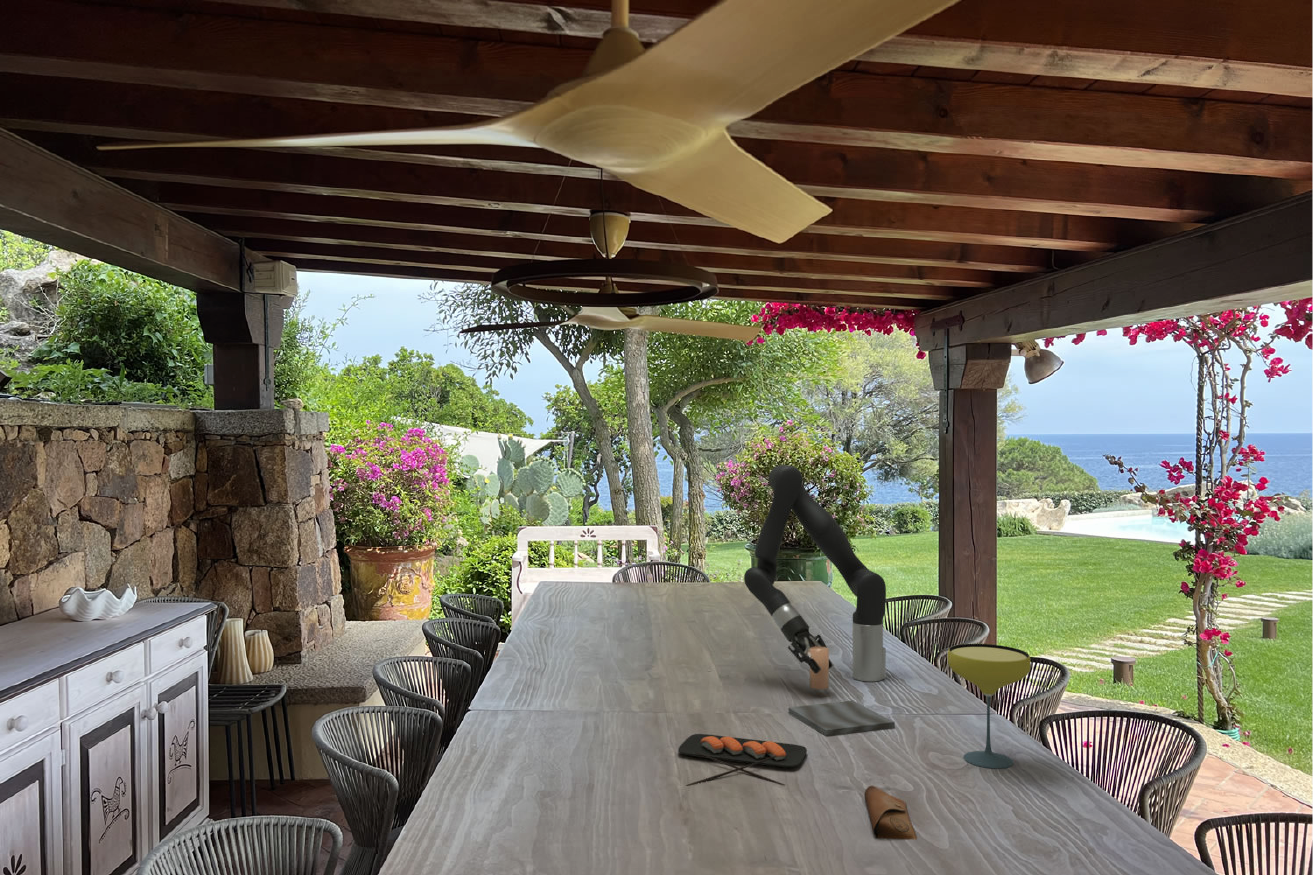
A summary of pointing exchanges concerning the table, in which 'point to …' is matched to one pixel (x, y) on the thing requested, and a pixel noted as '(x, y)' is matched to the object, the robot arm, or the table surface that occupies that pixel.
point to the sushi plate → (742, 753)
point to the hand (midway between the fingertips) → (824, 669)
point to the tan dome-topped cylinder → (822, 659)
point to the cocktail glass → (989, 684)
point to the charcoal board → (841, 718)
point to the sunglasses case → (888, 815)
